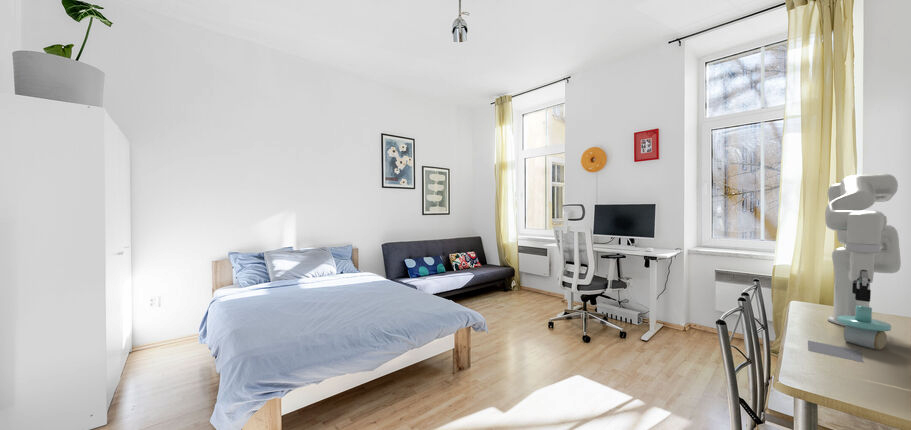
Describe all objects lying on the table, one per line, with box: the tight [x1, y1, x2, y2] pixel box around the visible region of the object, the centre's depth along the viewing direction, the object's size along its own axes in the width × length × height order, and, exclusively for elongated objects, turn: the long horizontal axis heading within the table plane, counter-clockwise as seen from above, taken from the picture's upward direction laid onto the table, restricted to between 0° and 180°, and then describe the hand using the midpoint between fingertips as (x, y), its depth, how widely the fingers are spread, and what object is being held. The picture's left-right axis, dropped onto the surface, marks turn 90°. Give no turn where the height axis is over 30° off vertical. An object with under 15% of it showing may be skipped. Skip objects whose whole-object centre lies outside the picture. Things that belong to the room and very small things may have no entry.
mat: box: [807, 340, 865, 363], centre depth 114 cm, size 12×12×1 cm
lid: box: [837, 305, 892, 332], centre depth 118 cm, size 12×12×6 cm
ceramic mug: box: [843, 325, 888, 351], centre depth 118 cm, size 11×8×8 cm
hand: (860, 297), depth 118 cm, fingers open, 9 cm apart
